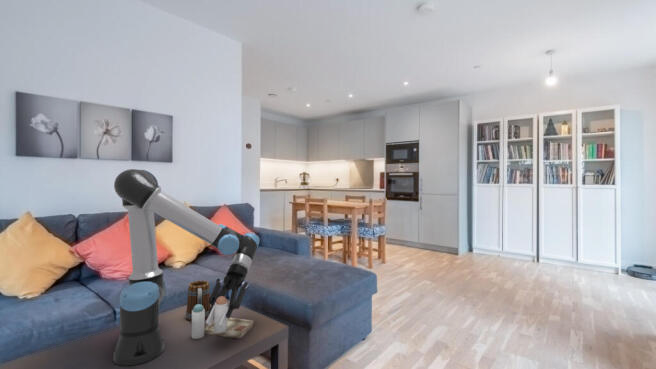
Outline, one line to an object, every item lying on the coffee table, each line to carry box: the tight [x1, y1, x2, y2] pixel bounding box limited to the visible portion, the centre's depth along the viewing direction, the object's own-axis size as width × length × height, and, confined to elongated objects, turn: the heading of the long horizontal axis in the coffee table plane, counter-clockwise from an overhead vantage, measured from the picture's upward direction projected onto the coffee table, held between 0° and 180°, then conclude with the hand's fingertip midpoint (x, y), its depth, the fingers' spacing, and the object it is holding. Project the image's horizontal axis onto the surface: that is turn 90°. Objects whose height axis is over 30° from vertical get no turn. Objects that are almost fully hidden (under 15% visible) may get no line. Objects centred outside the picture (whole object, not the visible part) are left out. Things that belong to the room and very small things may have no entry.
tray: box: [204, 317, 256, 340], centre depth 128 cm, size 16×12×2 cm
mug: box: [185, 279, 211, 322], centre depth 137 cm, size 16×11×15 cm
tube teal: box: [191, 304, 206, 340], centre depth 122 cm, size 5×5×12 cm
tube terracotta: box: [213, 296, 229, 333], centre depth 116 cm, size 5×5×12 cm
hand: (214, 325), depth 112 cm, fingers closed on tube terracotta, 5 cm apart
